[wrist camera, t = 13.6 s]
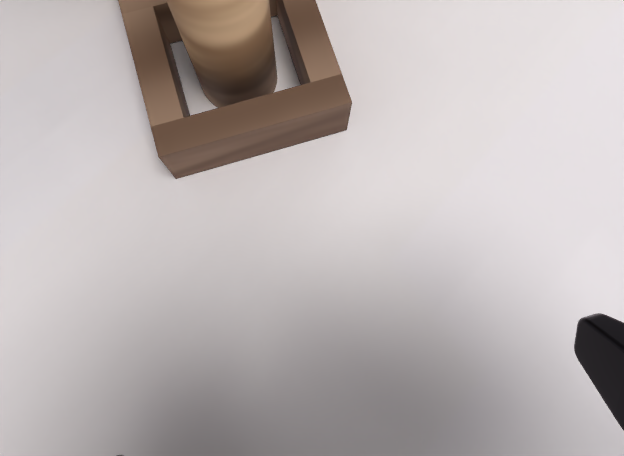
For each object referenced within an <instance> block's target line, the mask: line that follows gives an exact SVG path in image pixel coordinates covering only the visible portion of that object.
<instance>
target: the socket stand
mask: <svg viewBox="0 0 624 456" xmlns="http://www.w3.org/2000/svg"><path fill="white" fill-rule="evenodd" d="M118 1H119V5H120V9H121V13H122V17H123V21H124V25H125V29H126V33H127V36H128V40H129V44H130V48H131V52H132V56H133V60H134V64H135V67H136V71H137V75H138V79H139V83H140V87H141V91H142V95H143V99H144V102H145V106H146V110H147V114H148V118H149V122H150V126H151V130H152V133H153V137H154V141H155V145H156V149H157V153H158V157H159V158H160V159H161V161H162V162H163V163H164V164H165V166H166V167H167V168H168V169H169V171H170V172H171V173H172V174H173V176H174V177H175V178H176V179H177V178H181V177H184V176H188V175H191V174H195V173H198V172H202V171H205V170H209V169H212V168H216V167H219V166H223V165H226V164H230V163H233V162H237V161H240V160H244V159H247V158H251V157H254V156H258V155H261V154H265V153H268V152H271V151H275V150H278V149H282V148H285V147H289V146H292V145H296V144H299V143H303V142H306V141H310V140H313V139H317V138H320V137H324V136H327V135H331V134H334V133H338V132H341V131H345V130H347V125H348V120H349V115H350V110H351V105H352V101H351V98H350V95H349V93H348V90H347V87H346V84H345V82H344V79H343V76H342V73H341V70H340V68H339V65H338V62H337V59H336V56H335V54H334V51H333V48H332V45H331V43H330V40H329V37H328V34H327V31H326V29H325V26H324V23H323V20H322V18H321V15H320V12H319V9H318V6H317V4H316V1H315V0H269V5H270V14H271V17H273V16H276V15H278V18H279V21H280V24H281V27H282V30H283V33H284V36H285V39H286V42H287V45H288V48H289V51H290V54H291V57H292V60H293V63H294V66H295V69H296V72H297V75H298V78H299V80H300V83H301V85H300V86H296V87H292V88H289V89H285V90H282V91H278V92H274V93H271V94H267V95H264V96H260V97H256V98H253V99H249V100H246V101H242V102H238V103H235V104H231V105H227V106H224V107H220V108H217V109H213V110H209V111H206V112H202V113H199V114H195V115H191V116H190V114H189V110H188V107H187V103H186V100H185V96H184V92H183V89H182V85H181V82H180V78H179V74H178V71H177V67H176V64H175V60H174V56H173V53H172V49H171V46H170V43H174V42H178V41H182V37H181V35H180V33H179V30H178V28H177V25H176V23H175V20H174V18H173V15H172V13H171V11H170V8H169V6H168V3H167V1H166V0H118Z"/></svg>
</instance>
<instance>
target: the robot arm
mask: <svg viewBox="0 0 624 456" xmlns="http://www.w3.org/2000/svg"><path fill="white" fill-rule="evenodd" d="M574 349H575V354H576V356H577V358H578V360H579V362H580V363H581V365H582V366H583V368H584V370H585V371H586V373H587V374H588V376H589V378H590V379H591V381H592V382H593V384H594V385H595V387H596V389H597V390H598V392H599V393H600V395H601V397H602V398H603V400H604V401H605V403H606V404H607V406H608V408H609V409H610V411H611V412H612V414H613V415H614V417H615V419H616V420H617V422H618V423H619V424H620V426H621V427H622V429H623V430H624V323H623V322H621V321H618V320H616V319H614V318H612V317H609V316H607V315H604V314H599V313H598V314H593V315H590V316H587V317H583V318H581V319H580V320H579V322H578V325H577V332H576V338H575V344H574ZM118 456H123V455H118Z"/></svg>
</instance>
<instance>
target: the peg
mask: <svg viewBox="0 0 624 456" xmlns="http://www.w3.org/2000/svg"><path fill="white" fill-rule="evenodd" d="M166 1H167V3H168V6H169V8H170V11H171V13H172V15H173V18H174V20H175V23H176V25H177V28H178V30H179V33H180V35H181V37H182V40H183V42H184V45H185V47H186V50H187V52H188V54H189V57H190V59H191V62H192V64H193V67H194V69H195V72H196V74H197V76H198V79H199V81H200V84H201V86H202V89H203V91H204V93H205V95H206V97H207V98H208V99H209V100H210V102H211V103H213V104H214V105H215V106H217V107H218V108H220V107H224V106H227V105H231V104H235V103H238V102H242V101H246V100H249V99H253V98H256V97H260V96H264V95H267V94H271V93H273V92H274V90H275V87H276V84H277V70H276V61H275V51H274V42H273V33H272V24H271V14H270V5H269V0H166Z"/></svg>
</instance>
